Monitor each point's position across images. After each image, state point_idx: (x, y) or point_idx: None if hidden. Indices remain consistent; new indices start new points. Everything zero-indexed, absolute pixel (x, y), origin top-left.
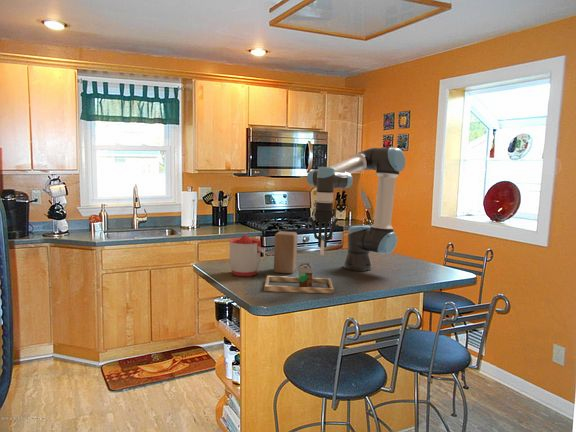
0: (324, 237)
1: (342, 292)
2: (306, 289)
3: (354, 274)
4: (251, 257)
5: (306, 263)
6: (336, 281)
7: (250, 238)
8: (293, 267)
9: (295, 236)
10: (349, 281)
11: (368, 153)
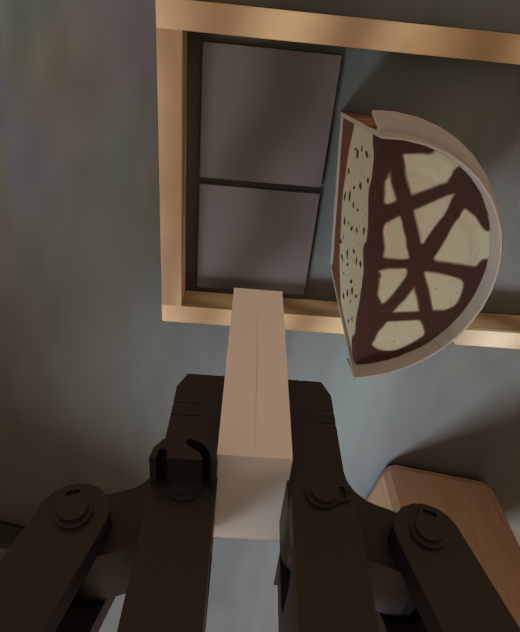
0: (211, 524)
1: (82, 39)
2: (409, 23)
3: (9, 469)
4: None
5: (379, 368)
6: (123, 335)
7: None
8: (385, 501)
9: None
10: (34, 338)
11: None
